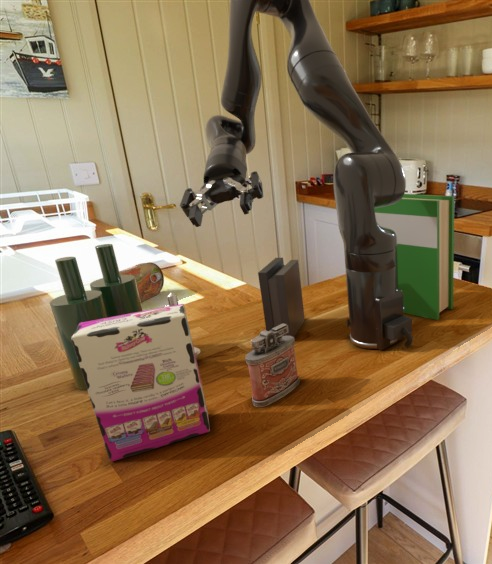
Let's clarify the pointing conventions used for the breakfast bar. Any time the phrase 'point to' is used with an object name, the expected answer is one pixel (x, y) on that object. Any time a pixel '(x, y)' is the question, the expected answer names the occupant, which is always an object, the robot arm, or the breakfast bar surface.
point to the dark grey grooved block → (282, 295)
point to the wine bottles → (91, 301)
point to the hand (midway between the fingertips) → (220, 216)
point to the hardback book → (423, 251)
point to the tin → (146, 279)
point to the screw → (173, 301)
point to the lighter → (272, 366)
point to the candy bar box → (142, 379)
